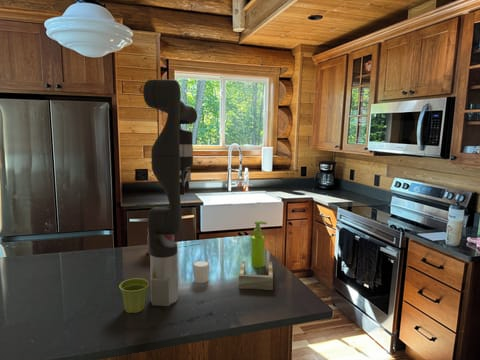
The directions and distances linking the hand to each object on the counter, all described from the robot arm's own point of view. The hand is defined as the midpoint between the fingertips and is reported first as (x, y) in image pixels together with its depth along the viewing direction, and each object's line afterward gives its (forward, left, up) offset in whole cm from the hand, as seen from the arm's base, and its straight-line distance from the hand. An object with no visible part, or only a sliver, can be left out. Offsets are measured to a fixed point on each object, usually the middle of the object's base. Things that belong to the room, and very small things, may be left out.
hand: (184, 193), depth 143 cm
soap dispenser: (+4, -33, -33) cm, 47 cm away
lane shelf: (-10, -32, -33) cm, 47 cm away
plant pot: (-37, +8, -33) cm, 50 cm away
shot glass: (-13, -10, -33) cm, 37 cm away
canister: (+15, +15, -33) cm, 39 cm away
